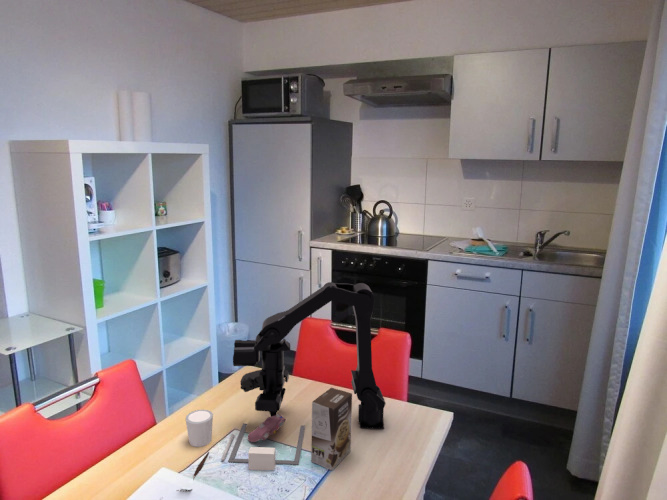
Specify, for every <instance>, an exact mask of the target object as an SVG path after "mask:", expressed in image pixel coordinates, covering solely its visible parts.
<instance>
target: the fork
mask: <svg viewBox="0 0 667 500" xmlns="http://www.w3.org/2000/svg"><path fill="white" fill-rule="evenodd" d="M209 454H210V451H209V452H207V453H206V454H205V455H204V457H203V458H202V460H201V461H200V462H199V463H198V464H197V467H196V469H195V470H194V474H193V475H192V478H193V480H195V479H196V477H197V476H198V474H199V473H200V472H199V471H202V469H203V467H204V465H205V463H206V461H207V458H208V456H209ZM182 490H183V489H182ZM182 490H180V491H179V489H176V492H182V493H183V492H185V493H187V492H188V493H189V491H188V490H187V491H185V490H184V491H182Z"/></svg>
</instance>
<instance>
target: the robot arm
mask: <svg viewBox="0 0 667 500" xmlns="http://www.w3.org/2000/svg"><path fill="white" fill-rule="evenodd" d="M330 302H338V303H341V304H343V305H347V306H351V307H352V309H353V313H354V317H355V333H356V337H355V338H356V358H357V359H356V361H357V362H356V363H357V366H356V368H355V370H354V369H353V370H350V372H351V373H350V374H351V381H350V383H351V387H352V390H353V393H354V395H356V397H357V399H358V400H359V402H360V404H358V409H357V410H358V411H357V412H358V413H357V414H358V415H357V417H358V418H357V419H358V421H357V422H358V423H359V428H360V429H375V430H381V429H382V430H383V429H385V426H384V425H385V424H384V411H385V410H384V408H385V406H386V400H385V398H384V395H383V393H382V390H381V388H380V386H378V385H377V383H376V379H375V375H374V371H373V358H372V357H373V356H372V328H371V327H372V325H371V321H372V316H373V313H374V309H375V303H376V298H375V295H374V293H373V291H372V290H371V288H370V286H369V285H367V284H366V283H364V282H359V283H355V284H351V283H337V282H332V281H329V282H328V281H327V282H326V283H325V284H324V285H323V286H321V287H320V288H319V289H317V290H315V292H313V293H311V294H310V295H308V296H307V297H306V298H303V300H301V301H298V303H297V304H295V305H293V306H292V307H291V308H289V309H287V310H285V311H280V312H278V313H275V314H274V315H271V316H268V317H267V318H266V319H264V321H263V322H262V326H261V330H260V331H259V332H258V334H257V335H256V336H255V340H254V339H253V340H252V339H251V340H241V339H235V340H234V344H233V346H234V347H233V355H232V365H233V367H255V366H256V365H258V363H260V357H261V369H258V370H253V371H250V372H246V373H244V374H243V375H242V377H241V379H240V389H241V390H243V392H244V393H248V392H249V391H252V390H256V389H259V391H262V392H261V393H259V395H258V396H257V397H256V400H255V402H254V410H255V411H256V412H269V415H270V416H269V417H271V416H275V415H277V414H278V412H280V410H281V406H282V402H283V401H284V397H285V396H284V395H285V394H286V390H287V389H286V388H285V387H284V386H285V383H288V382H289V379H290V375H289V373H290V371H288V370H287V368H285V367H286V365H285V364H284V362H285V361H284V360H285V359H284V354H285V353H284V352H286V351H289V352H290V351H291V342H288V341H287V339H286V337H287V336H288V335H289V334H290V332H291V331H292V330H293V328H294V327H296V326H297V325H298V324H299V323H302V321H303V320H305V319H307V318H309V317H310V316H311V315H313V314H314V313H316V312H317V311H319V310H320V309H322V308H323V307H325V306H326V305H327V304H329V303H330ZM260 353H261V354H260Z"/></svg>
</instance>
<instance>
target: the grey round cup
mask: <svg viewBox="0 0 667 500" xmlns="http://www.w3.org/2000/svg"><path fill="white" fill-rule="evenodd" d="M213 419H214V413H213V412H212V411H211V410H209V409H197V410H193V411H191V412H189V413H188V414H186V416H185V424H186V430H187V437H188V443H189V444H190V446H192V447H195V448H201V447H205V446H207V445H209V444H210V443H211V442H212V436H213V435H212V434H213V421H214V420H213Z"/></svg>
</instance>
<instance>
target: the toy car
mask: <svg viewBox="0 0 667 500" xmlns="http://www.w3.org/2000/svg"><path fill="white" fill-rule="evenodd" d="M285 421H286V418H285V417H284V416H283V415H281V414H279V413H277V414H276V415H275V416H268V417H266V419H265V420H264V421H263V422H262V423H260V424H259V425H258V426H257V427H256V429H253V430H252V431H251V432H249V433H248V435H247V440H248V441H249V442H250V443H257V442H258V441H260V440H262V441H263V442H264V441H266V440H267V439H268V438H269V436H270V435H271V436H273V435H275V434H276V433H277V432H278V430H279V429H280V428H281V427H282V426H283V425H284V423H285Z"/></svg>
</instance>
